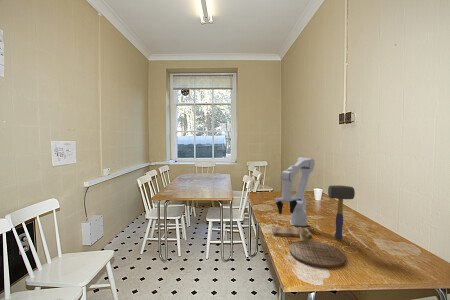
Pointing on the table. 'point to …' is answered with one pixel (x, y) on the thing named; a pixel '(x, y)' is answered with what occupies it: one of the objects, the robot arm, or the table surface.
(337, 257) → the trivet
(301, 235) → the beige block with handle
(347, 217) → the table surface
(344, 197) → the rubber mallet
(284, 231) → the board
